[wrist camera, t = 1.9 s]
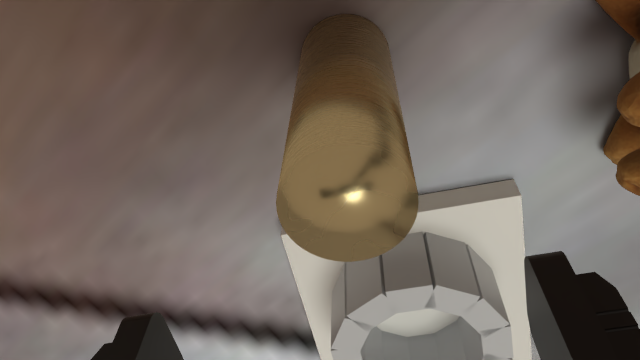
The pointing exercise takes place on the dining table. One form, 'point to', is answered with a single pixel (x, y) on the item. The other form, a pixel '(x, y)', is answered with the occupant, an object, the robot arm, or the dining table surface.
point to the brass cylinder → (346, 147)
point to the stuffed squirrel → (627, 100)
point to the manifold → (427, 285)
